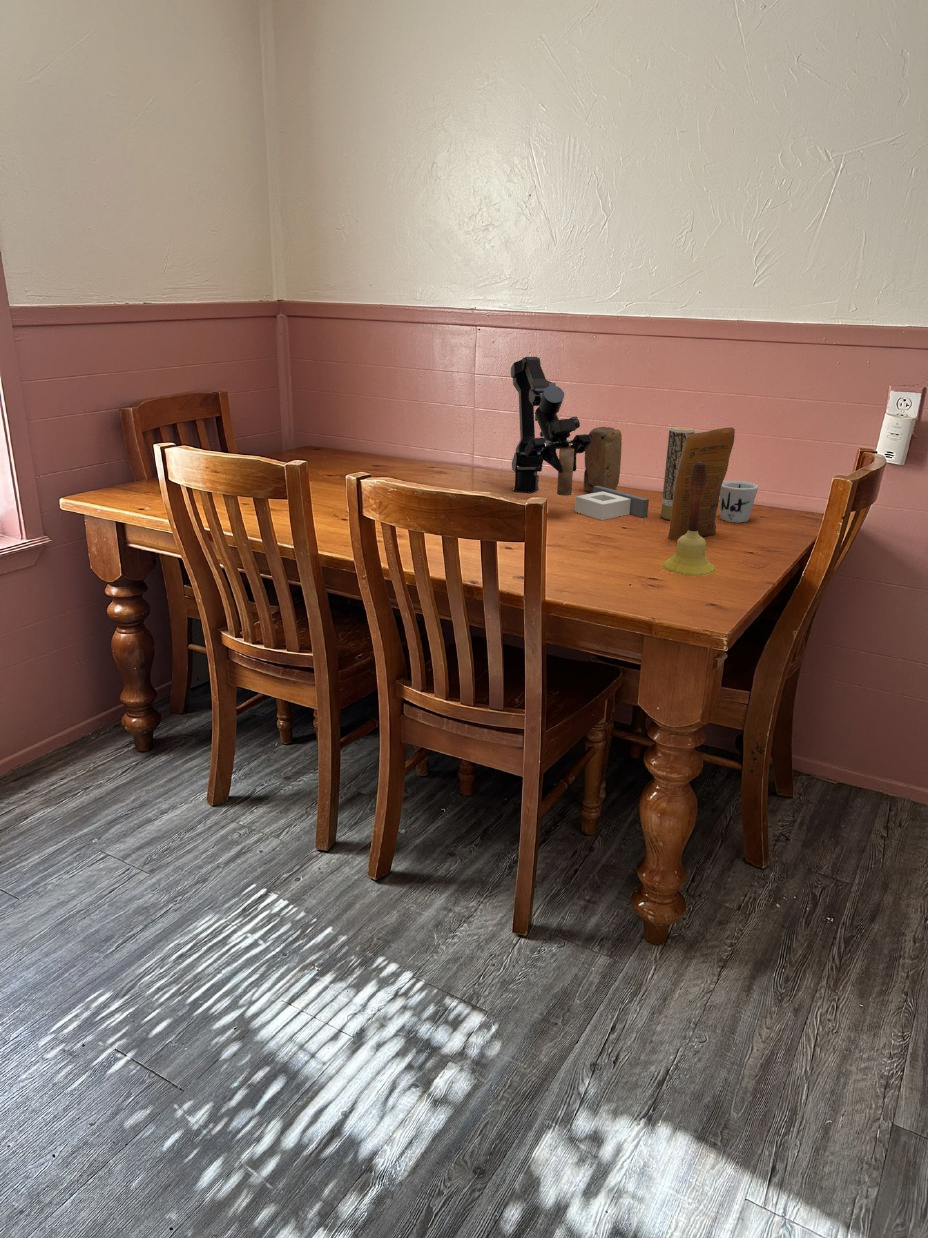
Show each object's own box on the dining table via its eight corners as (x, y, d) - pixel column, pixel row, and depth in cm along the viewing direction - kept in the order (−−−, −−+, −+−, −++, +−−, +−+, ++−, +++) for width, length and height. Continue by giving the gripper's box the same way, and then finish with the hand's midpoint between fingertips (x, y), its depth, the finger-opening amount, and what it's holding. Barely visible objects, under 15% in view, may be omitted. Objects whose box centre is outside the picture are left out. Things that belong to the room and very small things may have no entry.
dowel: (555, 494, 243) (557, 449, 239) (559, 491, 247) (562, 446, 242) (568, 496, 242) (571, 450, 237) (573, 493, 245) (576, 448, 240)
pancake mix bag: (730, 534, 233) (744, 428, 223) (675, 543, 225) (687, 433, 214) (713, 528, 239) (725, 424, 228) (658, 536, 230) (668, 429, 220)
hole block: (574, 511, 253) (575, 496, 251) (601, 506, 259) (602, 491, 257) (602, 520, 245) (603, 504, 243) (629, 514, 251) (630, 498, 249)
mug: (711, 521, 246) (715, 485, 242) (723, 509, 258) (727, 475, 254) (749, 526, 241) (754, 490, 237) (760, 514, 253) (764, 479, 250)
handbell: (667, 576, 201) (678, 467, 192) (657, 559, 212) (668, 456, 203) (721, 577, 201) (735, 468, 191) (709, 560, 212) (721, 457, 203)
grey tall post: (685, 521, 244) (695, 431, 235) (660, 520, 245) (669, 430, 236) (684, 515, 250) (694, 427, 241) (660, 514, 252) (669, 426, 242)
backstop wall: (592, 502, 263) (593, 486, 261) (597, 501, 264) (598, 485, 262) (642, 517, 248) (644, 500, 246) (647, 516, 249) (648, 499, 247)
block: (620, 494, 273) (625, 429, 266) (603, 497, 269) (608, 431, 261) (595, 487, 281) (600, 424, 274) (578, 490, 277) (582, 426, 269)
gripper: (531, 408, 235) (550, 457, 230) (590, 404, 243) (610, 451, 237) (516, 432, 245) (534, 480, 239) (573, 428, 252) (592, 474, 247)
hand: (568, 471), depth 241 cm, fingers closed on dowel, 4 cm apart
